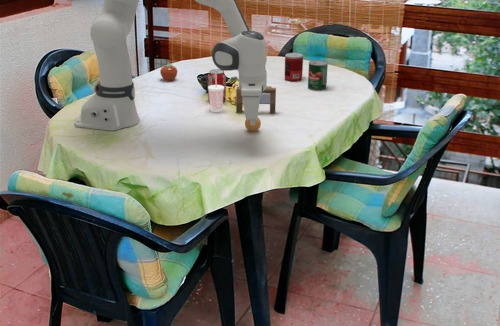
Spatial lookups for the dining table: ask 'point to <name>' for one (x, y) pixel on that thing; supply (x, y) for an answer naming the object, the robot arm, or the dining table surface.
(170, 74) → the tomato
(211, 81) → the soda can
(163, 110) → the dining table surface
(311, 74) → the canned tomato
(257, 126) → the ball
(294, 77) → the canned food
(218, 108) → the beverage cup
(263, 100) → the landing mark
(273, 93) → the bridge
